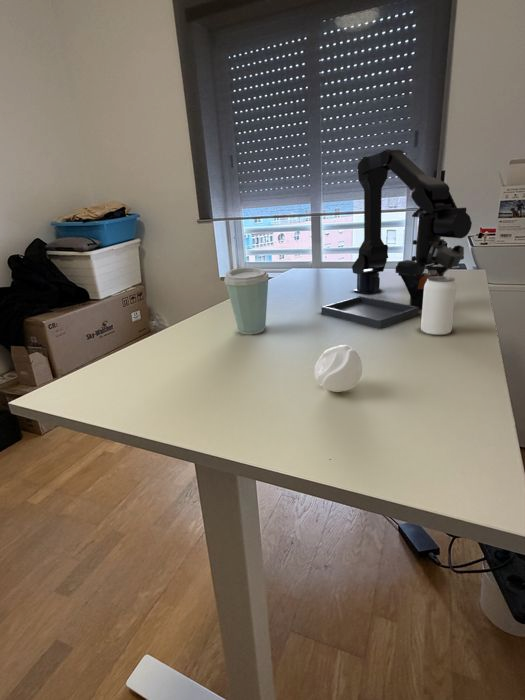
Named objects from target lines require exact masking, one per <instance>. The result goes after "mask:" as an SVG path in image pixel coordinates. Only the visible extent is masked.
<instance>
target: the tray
mask: <svg viewBox="0 0 525 700" xmlns="http://www.w3.org/2000/svg"><path fill="white" fill-rule="evenodd" d="M320 307H321V308H320V309H321V314H322V315H324V316H325V315H326V316H329V317H332V318H337V319H341V320H345V321H348V322H352V323H356V324H359V325H360V324H361V325H365V326H368V327H371V328H376V329H379V330H380V329H382V328H385V327H389V326H391V325H395V324H396V323H400V322H403V321H405V320H408V319H410V318H413V317H416V316H418V315H419V314H420V310H419V307H415V306H410V304H403V303H399V302H393V301H388V300H383V299H378V298H373V297H369V296H361V295H358V296H355V297H351V298H347V299H344V300H340V301H336V302H333V303H330V304H326V305H323V306H320Z"/></svg>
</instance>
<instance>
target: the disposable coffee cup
mask: <svg viewBox="0 0 525 700" xmlns="http://www.w3.org/2000/svg"><path fill="white" fill-rule="evenodd" d="M269 279H270V276H269V274H268V273H267V272H266V270H264V268H259V267H250V266H244V267H239V268H233V269H230V270H227V272H226V273H225V277H224V281H223V283H224V284H225V286H226V289H227V294H228V296H229V300H230V304H231V308H232V312H233V315H234V320H235V323H236V326H237V330H238V331H239V333H240V334H242V335H257V334H260V333H262V332H264V331H265V327H266V322H267V308H268V307H267V306H268V291H269V290H268V289H269Z"/></svg>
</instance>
